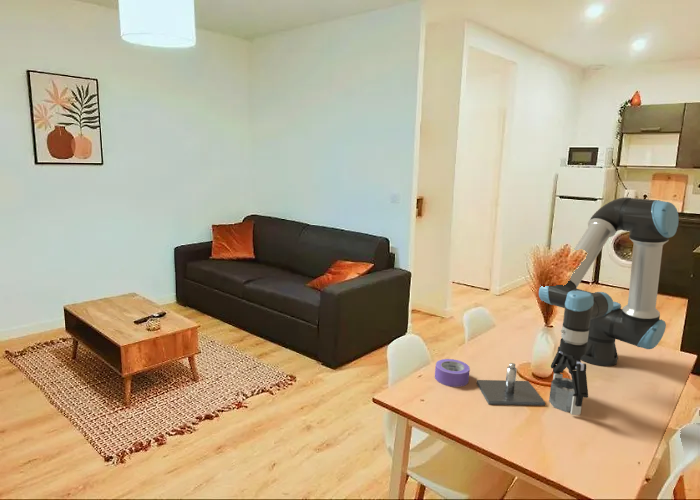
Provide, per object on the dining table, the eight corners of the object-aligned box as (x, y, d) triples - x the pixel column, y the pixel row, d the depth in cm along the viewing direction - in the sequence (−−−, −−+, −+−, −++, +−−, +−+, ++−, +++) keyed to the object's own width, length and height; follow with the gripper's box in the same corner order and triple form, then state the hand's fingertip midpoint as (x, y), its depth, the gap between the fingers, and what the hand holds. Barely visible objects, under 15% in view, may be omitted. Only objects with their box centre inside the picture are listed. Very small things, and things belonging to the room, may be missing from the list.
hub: (571, 397, 155) (574, 378, 154) (585, 412, 147) (588, 391, 145) (545, 397, 155) (548, 377, 154) (557, 411, 146) (560, 391, 145)
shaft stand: (527, 384, 163) (531, 355, 161) (544, 405, 150) (548, 374, 147) (476, 383, 163) (479, 354, 161) (488, 404, 149) (491, 373, 147)
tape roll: (457, 369, 173) (458, 357, 172) (475, 384, 162) (476, 371, 161) (428, 373, 169) (429, 360, 168) (445, 389, 159) (446, 375, 158)
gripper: (545, 325, 158) (537, 383, 163) (581, 357, 134) (572, 424, 138) (567, 325, 158) (559, 383, 163) (607, 358, 134) (597, 424, 139)
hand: (565, 402), depth 151 cm, fingers open, 13 cm apart
